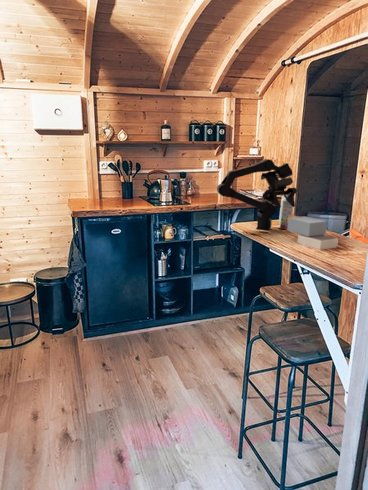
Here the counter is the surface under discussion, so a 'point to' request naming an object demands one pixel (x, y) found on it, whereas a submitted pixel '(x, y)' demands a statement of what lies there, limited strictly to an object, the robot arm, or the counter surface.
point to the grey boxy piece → (306, 225)
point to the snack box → (284, 213)
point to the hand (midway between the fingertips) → (287, 207)
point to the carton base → (318, 241)
